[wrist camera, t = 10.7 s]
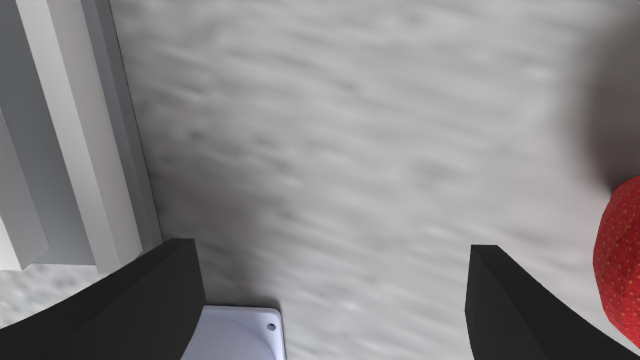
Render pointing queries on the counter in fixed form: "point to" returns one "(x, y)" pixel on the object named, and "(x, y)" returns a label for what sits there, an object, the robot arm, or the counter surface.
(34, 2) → the rack
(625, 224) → the strawberry
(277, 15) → the counter surface
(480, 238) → the counter surface
